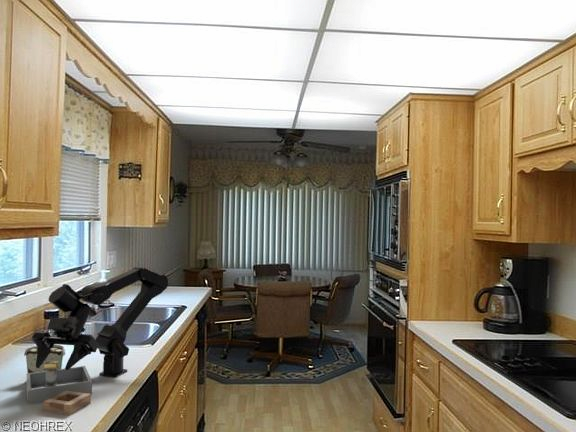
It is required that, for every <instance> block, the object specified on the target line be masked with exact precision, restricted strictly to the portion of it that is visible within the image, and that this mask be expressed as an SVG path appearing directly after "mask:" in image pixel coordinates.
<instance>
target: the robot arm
mask: <svg viewBox="0 0 576 432" xmlns="http://www.w3.org/2000/svg"><path fill="white" fill-rule="evenodd" d="M136 282H139V283H141V286H140V291H139V292H138V294H137V295H136V296H135V297H134V299H133V300H132V301H131V302H130V303H129V305H128V306H127V307H126V309H125V310H124V311H123V312H122V314H121V315H120V316H119V317H118V319H117V320H116V321H115V322H114V323H113V324H110V325H109V324H105V325H103V327H102V329H101V330H100V331H99V332H98V333H96V334H97V336H96V338H95V337H94V336H93V335H92V334H87V333H86V334H85V331H86V328H85V325H86V324H87V321H88V319H89V317H94V316H97V311H96V310H95V307H94V306H93V307H92V306H90V305H95V306H100V305H103V304H104V303H105V302H107V301H108V300H109V299H110V298H111V297H112V296H113V294H115V293H116V292H119V291H120V290H122V289H125V288H127V287H128V286H130V285H133V284H134V283H136ZM168 286H169V279H168V277H167V275H165V274H163V273H162V274H160V273H156V272H154V271H152V270H149V269H148V268H146V267H142V266H135V267H133V268H132V269H130V270H127V271H125V272H123V273H121V274H119V275H117V276H114V277H113V278H110V279H108V280H106V281H101V282H95V283H91V284H87V285H85V286H84V287H82V289H79V290H78V291H75V290H74V289H73V288H72V287H71V286H70V285H69V284H67V283H63V284H62V285H61V286H60V287H57V288H56V289H55V290H53V291H52V292H51V293H50V295H49V297H48V302H50V304H51V305H53V306H54V307H56V308H57V309H58V310H60V312H62V313H67V312H68V314H67V316H66V317H65V318H63V317H49V321H48V324H47V327H46V329H47V330H52V331H53V334H54V335H56V336H52V335H51V334H50V333H49V332H47V331H35V332H34V333H33V334H32V336H31V338H30V340H31V341H32V342H33V343H34V344H35V346H37V348H38V351H37V359H36V368H39V367H40V366H41V365H42V363H43V362H44V361H45V359H46V358H47V356H48V355H49V354H50V352H51V348H52V347H53V346H54V345H61V346H64V345H66V346H73V350H72V352H71V354H70V356H69V358H68V360H67V362H66V364H65V367H64V369H66V370H69V369H70V368H73V367H74V365H76V364H77V363H78V362H79V361H81V360H83V359H84V358H85V357H87V356H89V355H91V354H92V353H96V352H97V350H98V352H99V354H100V355H104V356H103V363H102V365H103V366H102V369H103V370H102V371H101V372H99V376H104V377H113V378H114V377H115V378H117V377H119V376H121V375H122V374H124V373H126V372H128V369H126V368H125V369H124V357H125V356H126V357H127V356H128V354H129V352H130V348H129V347H128V346H127V345H126V344H125V342H126V338H127V332H128V331H129V329H130V328H131V327H132V326H133V324H134V323H135V321H136V320H137V319H138V318H139V317H140V315H141V314H142V313H143V311H144V310H145V309H146V307H147V306H148V305H149V303H151V301H152V300H153V299H154V298H156V297H158V296H159V295H161V294H162V293H163V292H164V291H165V290H166V289H168Z"/></svg>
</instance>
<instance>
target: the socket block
mask: <svg viewBox="0 0 576 432" xmlns="http://www.w3.org/2000/svg"><path fill="white" fill-rule="evenodd" d="M91 400H92V394H88V393H80V392H72V391H64V392H62V393H60V394H58V395H56V396H54V397H52V398H50V399H48V400H46V401H44V402H43V409H42V410H43V412H46V413H53V414H58V415H59V414H60V415H67V416H71V415H73V414H74V413H76V412H78V411H80V410H82V409H83V408H86V407H88V406H89V405H90V404H92V401H91Z"/></svg>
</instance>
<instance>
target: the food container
mask: <svg viewBox="0 0 576 432" xmlns="http://www.w3.org/2000/svg"><path fill="white" fill-rule="evenodd" d="M37 351H38V348H37V345H35V346H31V347H28V348H25V351H24V354H23V356H25V359H26V360H25V361H26V370H27V371H26V374H27V373H35V372H42V371H46V369H44V363H46V362H49V361H58V362H59V367H58V368H57V370H58V369H62V368H63V367H62V366H63V358H64V356H65V355H66V349H65V348H64V345H62V344H54V346H53V347H52V348H51V352H50V354H49V355H48V356H47V358H46V359H45V361H44V362H43V363H42V365H41V366H40V367H39V368H36V359H37Z"/></svg>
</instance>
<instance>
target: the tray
mask: <svg viewBox="0 0 576 432" xmlns="http://www.w3.org/2000/svg"><path fill="white" fill-rule="evenodd" d="M81 379H82V381H79V382H73V383H72V382H71V383H65V384H60V385H58V384H57V386H51V387H46V386H45V387H38V388H34V387H36V386H40V385H46V371H42V372H35V373H27V372H26V387H25V388H26V400H27V405H30V404H31V405H32V404H37V403H44V401H46V400H48V399H50V398H52V397H54V396H56V395H58V394H60V393H62V392H64V391H72V392H80V393H88V394H91V395H92V394H93V380H92V378H91V375H90V373H89V371H88V370H87V367H86V365H82V366H75V367H74V366H72V367H71V368H70V369H69V370H66V369H65V368H61V369H58V370H57V383H59V382H60V383H61V382H67V381H68V382H69V381H73V380H81Z"/></svg>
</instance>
